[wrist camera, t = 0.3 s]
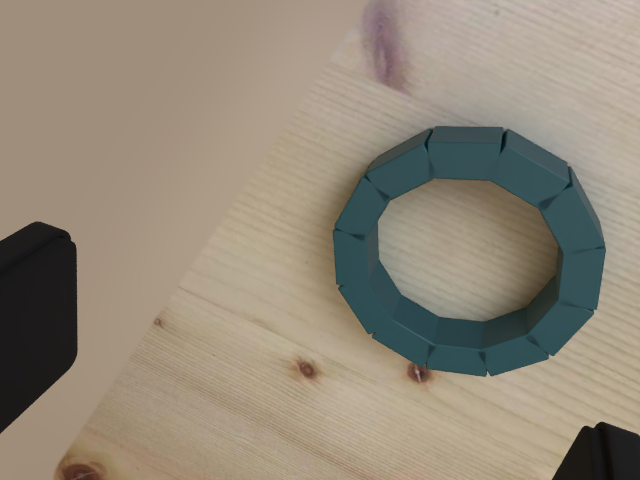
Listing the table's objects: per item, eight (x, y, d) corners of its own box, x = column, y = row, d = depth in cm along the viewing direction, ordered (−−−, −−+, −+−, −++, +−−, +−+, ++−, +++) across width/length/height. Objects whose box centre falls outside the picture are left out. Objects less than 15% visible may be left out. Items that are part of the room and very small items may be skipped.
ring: (304, 195, 30) (288, 214, 28) (523, 76, 25) (522, 89, 23) (419, 372, 33) (412, 401, 31) (641, 299, 27) (649, 329, 25)
